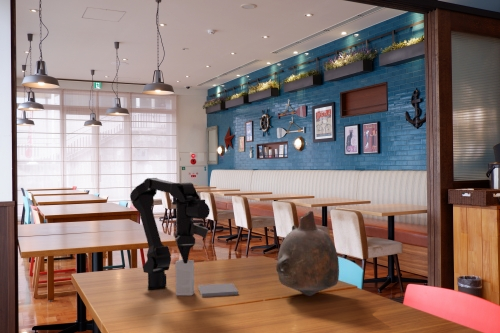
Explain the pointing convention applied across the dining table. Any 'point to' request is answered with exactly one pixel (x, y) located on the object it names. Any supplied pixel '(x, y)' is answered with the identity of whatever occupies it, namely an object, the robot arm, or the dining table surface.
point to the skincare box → (184, 277)
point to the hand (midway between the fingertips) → (184, 260)
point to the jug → (308, 258)
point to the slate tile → (218, 290)
